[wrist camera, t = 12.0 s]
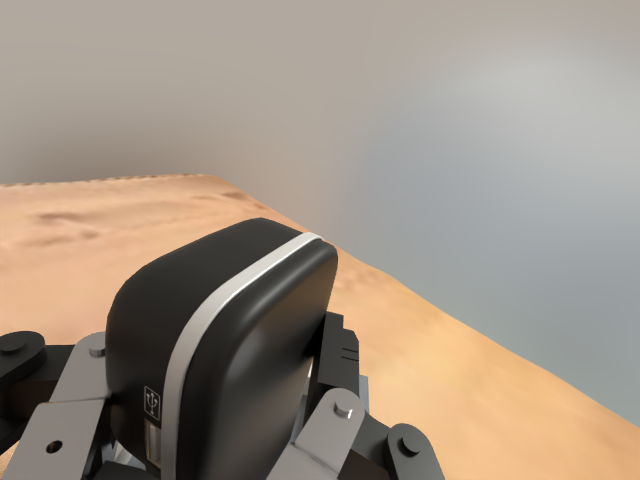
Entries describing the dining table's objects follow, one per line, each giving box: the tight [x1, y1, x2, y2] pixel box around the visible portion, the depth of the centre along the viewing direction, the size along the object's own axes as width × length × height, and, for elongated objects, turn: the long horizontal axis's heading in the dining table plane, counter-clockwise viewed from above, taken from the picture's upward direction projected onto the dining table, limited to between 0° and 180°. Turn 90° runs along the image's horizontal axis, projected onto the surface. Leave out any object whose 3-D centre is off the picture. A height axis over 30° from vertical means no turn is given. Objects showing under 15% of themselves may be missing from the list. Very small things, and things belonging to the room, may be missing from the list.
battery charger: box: [105, 218, 338, 480], centre depth 12 cm, size 7×4×11 cm, turn 154°
